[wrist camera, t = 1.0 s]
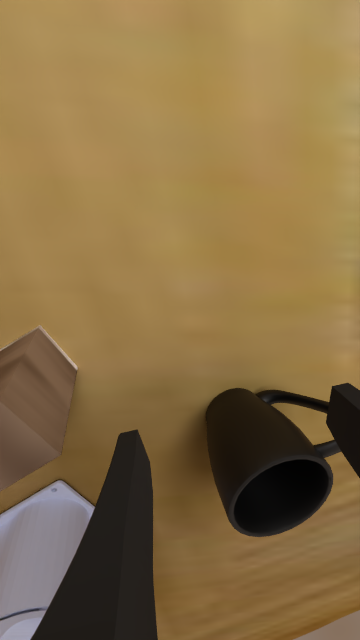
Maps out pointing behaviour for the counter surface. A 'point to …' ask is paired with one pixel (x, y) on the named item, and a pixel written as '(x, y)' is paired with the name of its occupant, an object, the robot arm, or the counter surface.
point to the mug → (266, 461)
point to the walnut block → (33, 403)
